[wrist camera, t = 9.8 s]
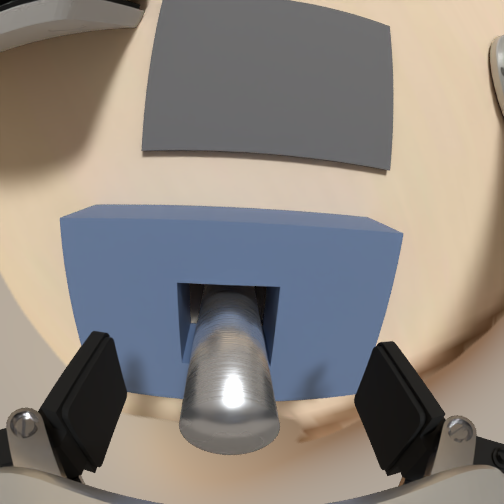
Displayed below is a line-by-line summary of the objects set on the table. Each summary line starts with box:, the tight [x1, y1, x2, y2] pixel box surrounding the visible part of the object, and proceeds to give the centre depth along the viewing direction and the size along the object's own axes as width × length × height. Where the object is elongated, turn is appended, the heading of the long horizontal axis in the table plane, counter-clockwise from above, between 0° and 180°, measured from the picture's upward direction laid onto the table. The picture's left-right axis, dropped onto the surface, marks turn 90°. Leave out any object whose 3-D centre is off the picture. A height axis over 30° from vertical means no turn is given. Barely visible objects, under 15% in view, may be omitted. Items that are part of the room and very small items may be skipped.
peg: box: [179, 284, 280, 455], centre depth 12 cm, size 3×3×10 cm
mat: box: [142, 0, 393, 170], centre depth 13 cm, size 14×10×1 cm
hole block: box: [60, 205, 403, 401], centre depth 15 cm, size 16×10×4 cm, turn 86°
